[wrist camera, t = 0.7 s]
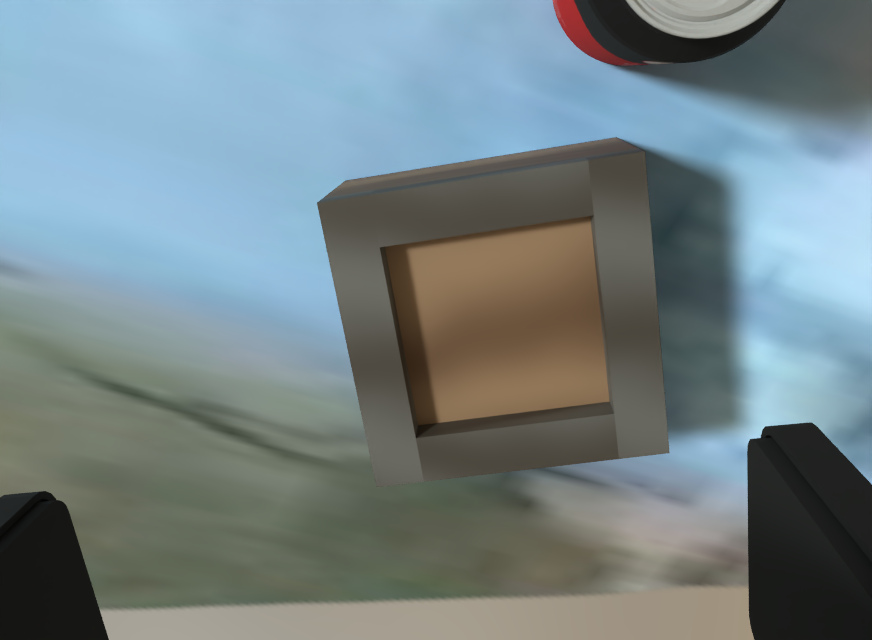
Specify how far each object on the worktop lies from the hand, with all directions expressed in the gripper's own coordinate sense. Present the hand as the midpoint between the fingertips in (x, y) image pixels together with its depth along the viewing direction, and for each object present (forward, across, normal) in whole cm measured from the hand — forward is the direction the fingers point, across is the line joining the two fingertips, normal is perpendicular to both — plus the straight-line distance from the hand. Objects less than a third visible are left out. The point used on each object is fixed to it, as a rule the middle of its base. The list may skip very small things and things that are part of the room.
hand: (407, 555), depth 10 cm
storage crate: (+25, -1, +4) cm, 26 cm away
